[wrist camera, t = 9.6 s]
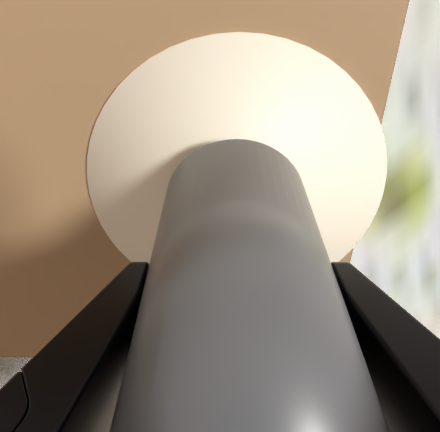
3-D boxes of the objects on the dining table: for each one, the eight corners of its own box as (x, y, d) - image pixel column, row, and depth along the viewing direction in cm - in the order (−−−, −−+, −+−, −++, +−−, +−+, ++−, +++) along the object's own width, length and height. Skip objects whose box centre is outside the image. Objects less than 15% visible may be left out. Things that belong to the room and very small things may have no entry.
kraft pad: (336, 345, 17) (340, 359, 17) (1, 344, 17) (-7, 358, 17) (457, -156, 8) (474, -165, 8) (-231, -152, 8) (-265, -160, 8)
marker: (298, 258, 13) (446, 849, 4) (169, 258, 13) (68, 845, 4) (314, 136, 10) (686, 872, 2) (158, 137, 10) (-101, 868, 2)
